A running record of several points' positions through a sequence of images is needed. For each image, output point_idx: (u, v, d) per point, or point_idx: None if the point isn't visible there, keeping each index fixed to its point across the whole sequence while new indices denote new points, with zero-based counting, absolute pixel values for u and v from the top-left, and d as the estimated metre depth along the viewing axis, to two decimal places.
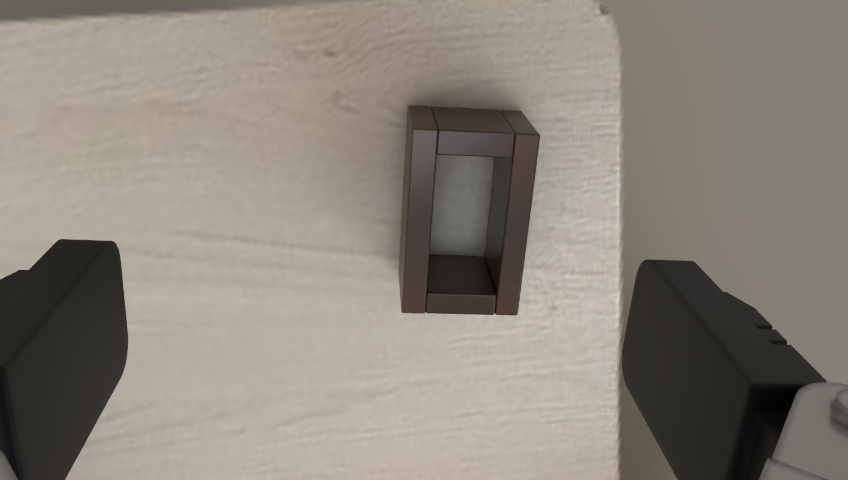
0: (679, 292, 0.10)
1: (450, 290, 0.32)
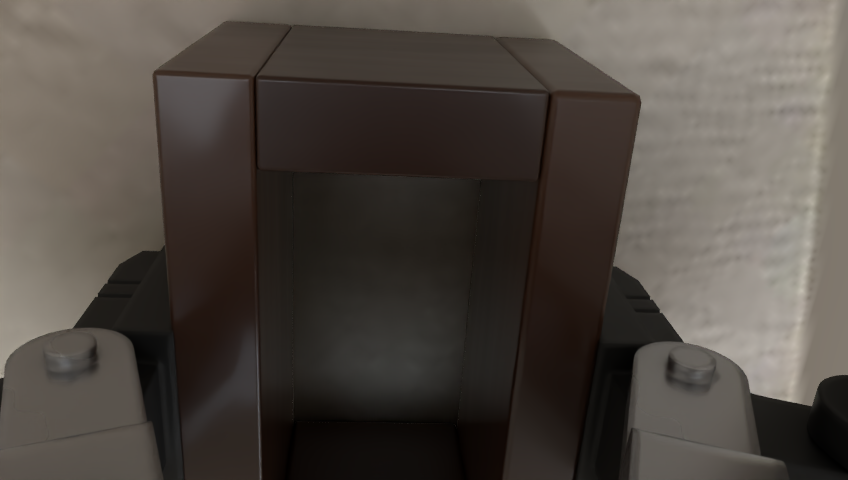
0: None
1: None
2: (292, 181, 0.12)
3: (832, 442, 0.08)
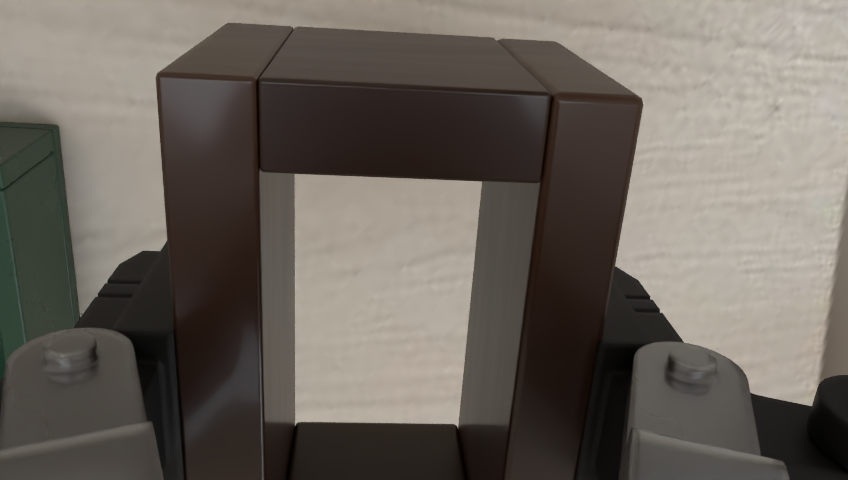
0: None
1: None
2: None
3: (832, 442, 0.08)
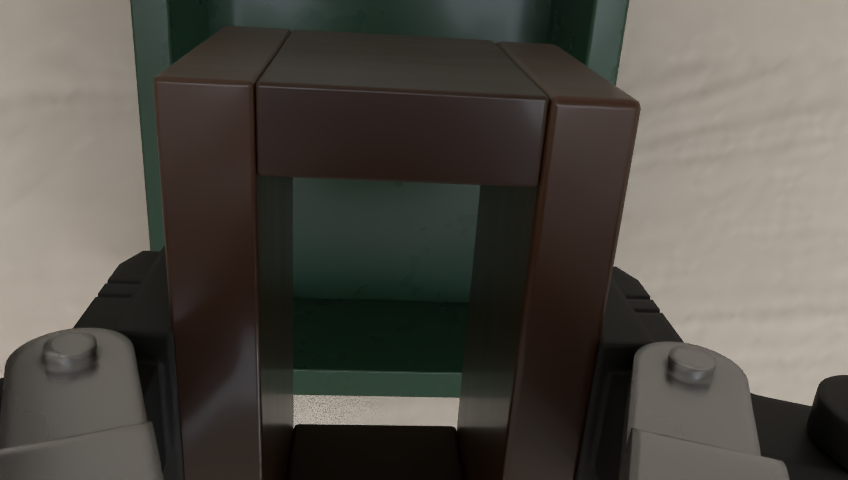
0: None
1: None
2: (292, 185, 0.12)
3: (832, 442, 0.08)
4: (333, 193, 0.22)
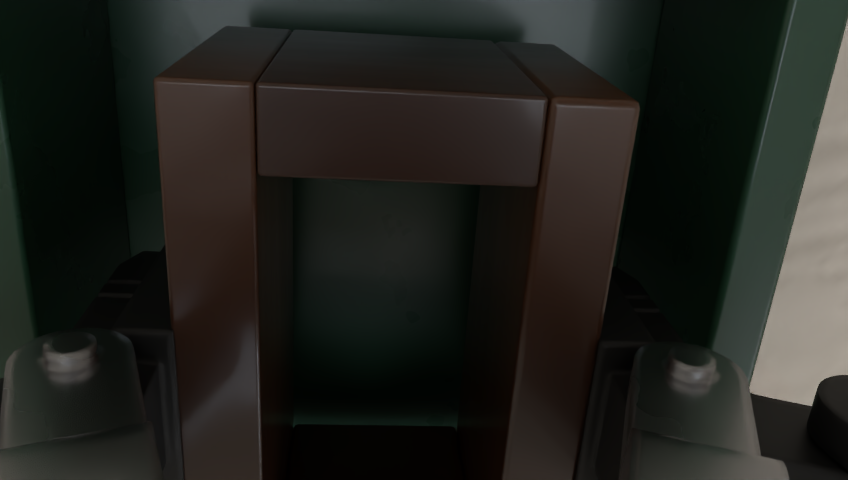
0: None
1: None
2: (292, 185, 0.12)
3: (833, 442, 0.08)
4: (315, 332, 0.15)
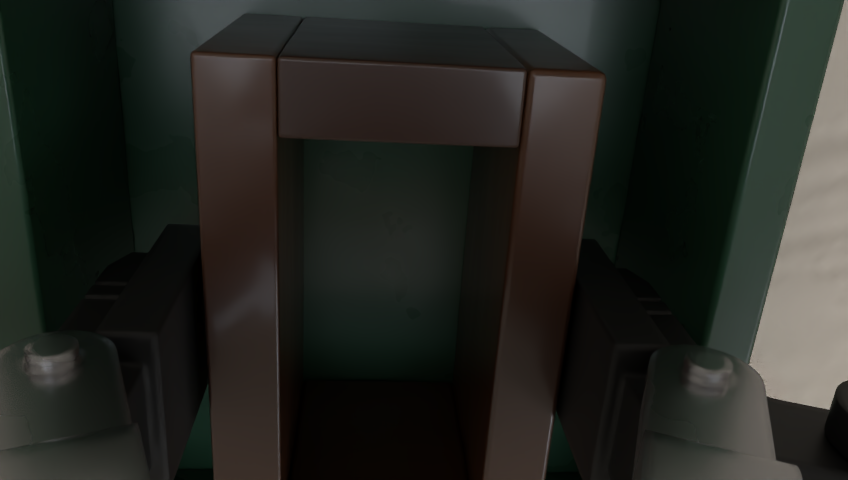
0: None
1: None
2: (303, 158, 0.13)
3: None
4: (317, 329, 0.15)
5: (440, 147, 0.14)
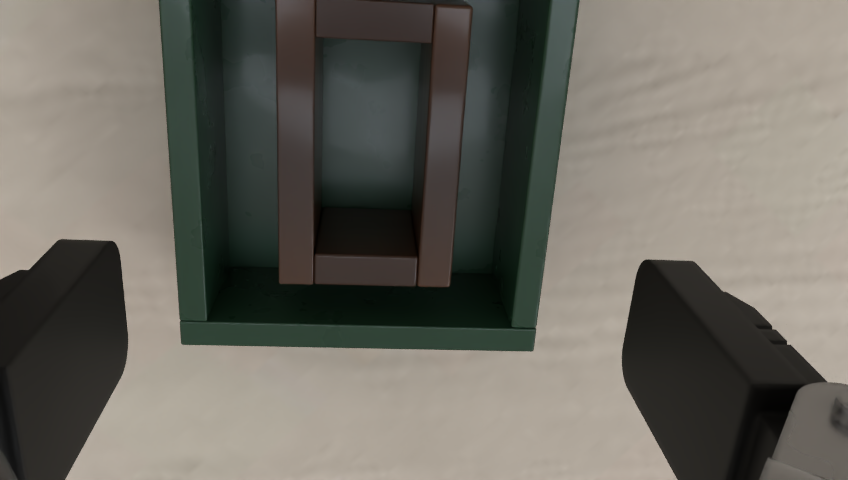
0: (679, 292, 0.10)
1: (350, 251, 0.22)
2: (322, 67, 0.24)
3: None
4: (330, 174, 0.25)
5: (401, 61, 0.24)
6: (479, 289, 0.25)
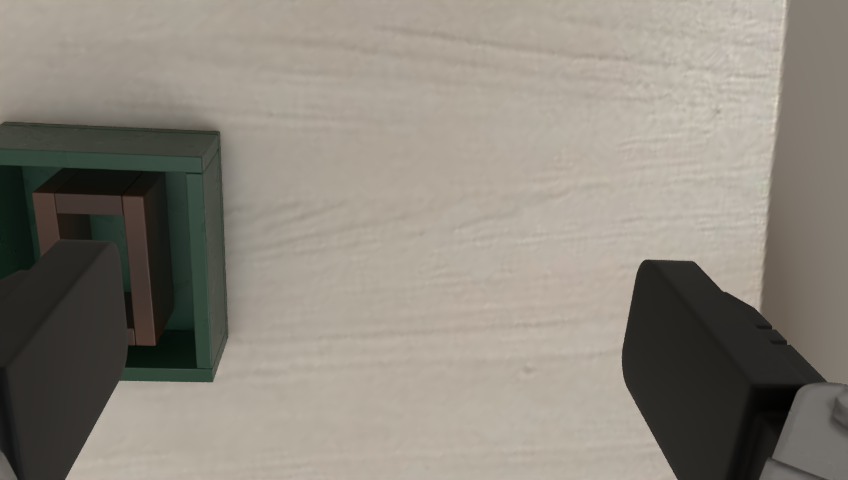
0: (679, 292, 0.10)
1: None
2: None
3: None
4: None
5: None
6: None
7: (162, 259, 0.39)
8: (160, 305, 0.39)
